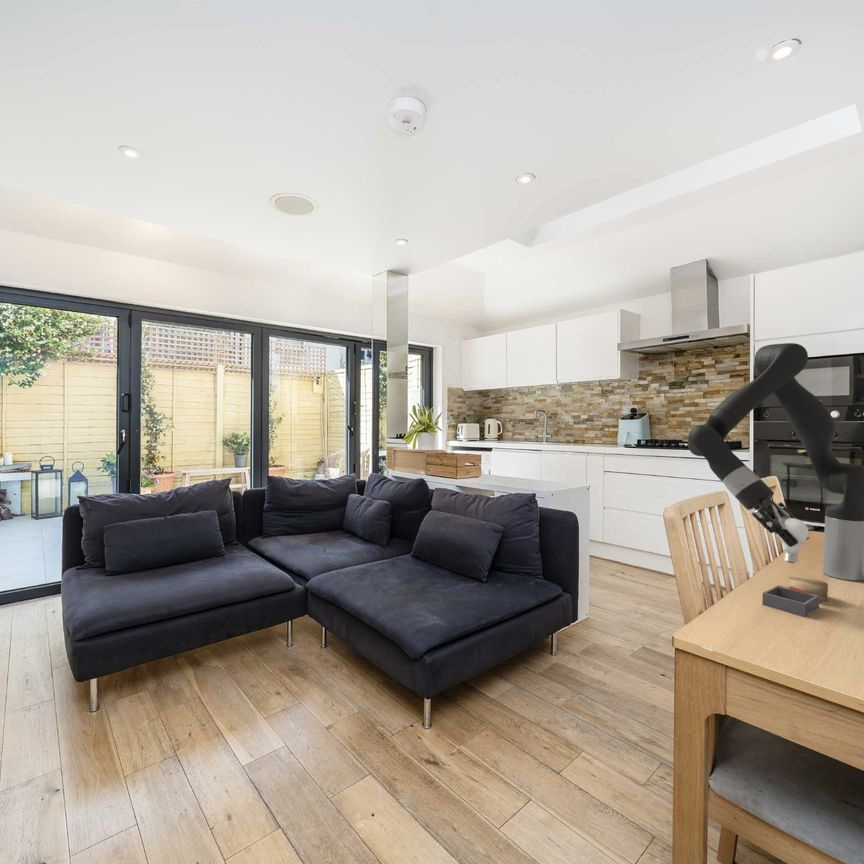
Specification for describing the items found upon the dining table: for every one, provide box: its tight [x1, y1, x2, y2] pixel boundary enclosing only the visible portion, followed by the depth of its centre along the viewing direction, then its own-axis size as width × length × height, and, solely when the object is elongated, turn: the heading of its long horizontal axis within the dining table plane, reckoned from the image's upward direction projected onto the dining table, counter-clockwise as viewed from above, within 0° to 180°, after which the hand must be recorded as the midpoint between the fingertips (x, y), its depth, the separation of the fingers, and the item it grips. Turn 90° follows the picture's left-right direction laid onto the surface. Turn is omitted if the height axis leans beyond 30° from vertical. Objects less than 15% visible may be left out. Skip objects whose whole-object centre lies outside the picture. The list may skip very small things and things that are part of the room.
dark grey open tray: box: [761, 584, 820, 618], centre depth 116 cm, size 10×9×4 cm
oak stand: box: [788, 575, 829, 604], centre depth 123 cm, size 8×8×4 cm
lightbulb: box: [776, 517, 810, 564], centre depth 116 cm, size 6×6×11 cm
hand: (800, 542), depth 114 cm, fingers closed on lightbulb, 6 cm apart
